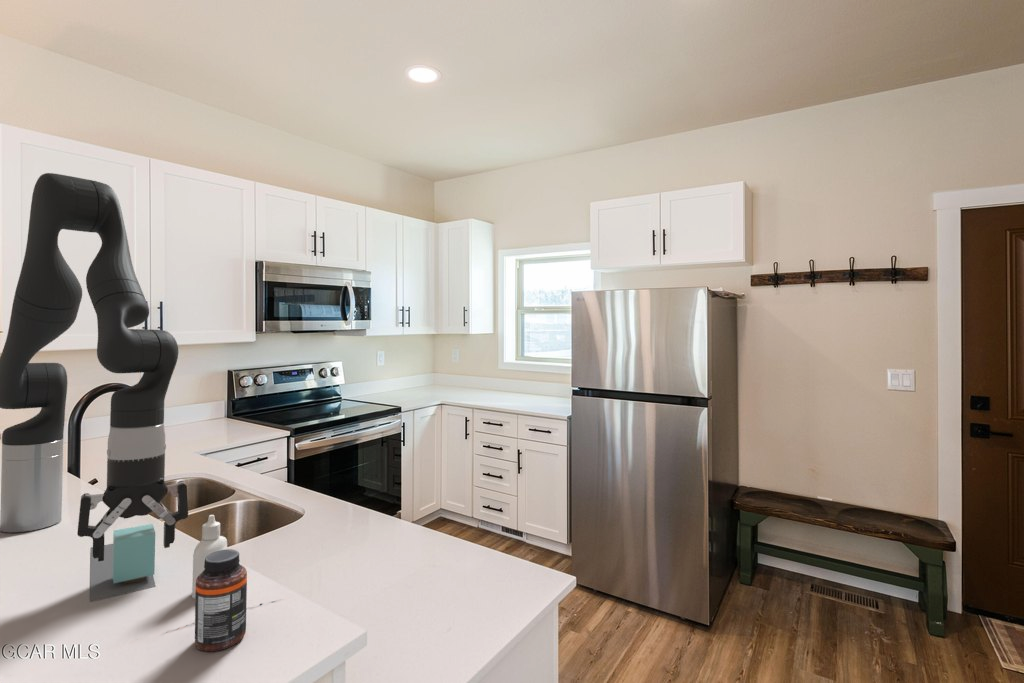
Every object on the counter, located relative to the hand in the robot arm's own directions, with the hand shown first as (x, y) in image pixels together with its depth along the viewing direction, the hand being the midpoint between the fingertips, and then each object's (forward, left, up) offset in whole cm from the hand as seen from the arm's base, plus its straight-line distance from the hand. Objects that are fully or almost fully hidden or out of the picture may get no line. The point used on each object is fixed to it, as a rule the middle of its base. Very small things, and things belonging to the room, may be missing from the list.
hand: (134, 552), depth 82 cm
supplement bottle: (+26, +8, -5) cm, 28 cm away
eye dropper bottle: (+11, +9, -5) cm, 15 cm away
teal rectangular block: (0, 0, -3) cm, 3 cm away
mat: (-7, -2, -5) cm, 9 cm away
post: (0, 0, -4) cm, 4 cm away
